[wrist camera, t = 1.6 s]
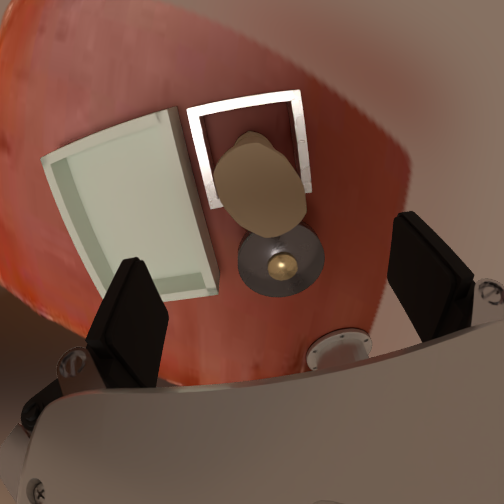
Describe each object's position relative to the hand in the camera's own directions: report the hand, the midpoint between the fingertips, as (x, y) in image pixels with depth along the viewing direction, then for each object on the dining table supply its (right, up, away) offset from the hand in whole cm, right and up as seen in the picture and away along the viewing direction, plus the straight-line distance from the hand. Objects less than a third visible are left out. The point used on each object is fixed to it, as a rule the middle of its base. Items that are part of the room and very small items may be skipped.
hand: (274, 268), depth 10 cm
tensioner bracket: (0, +8, +22) cm, 24 cm away
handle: (-1, +12, +20) cm, 23 cm away
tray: (-15, +6, +23) cm, 28 cm away
